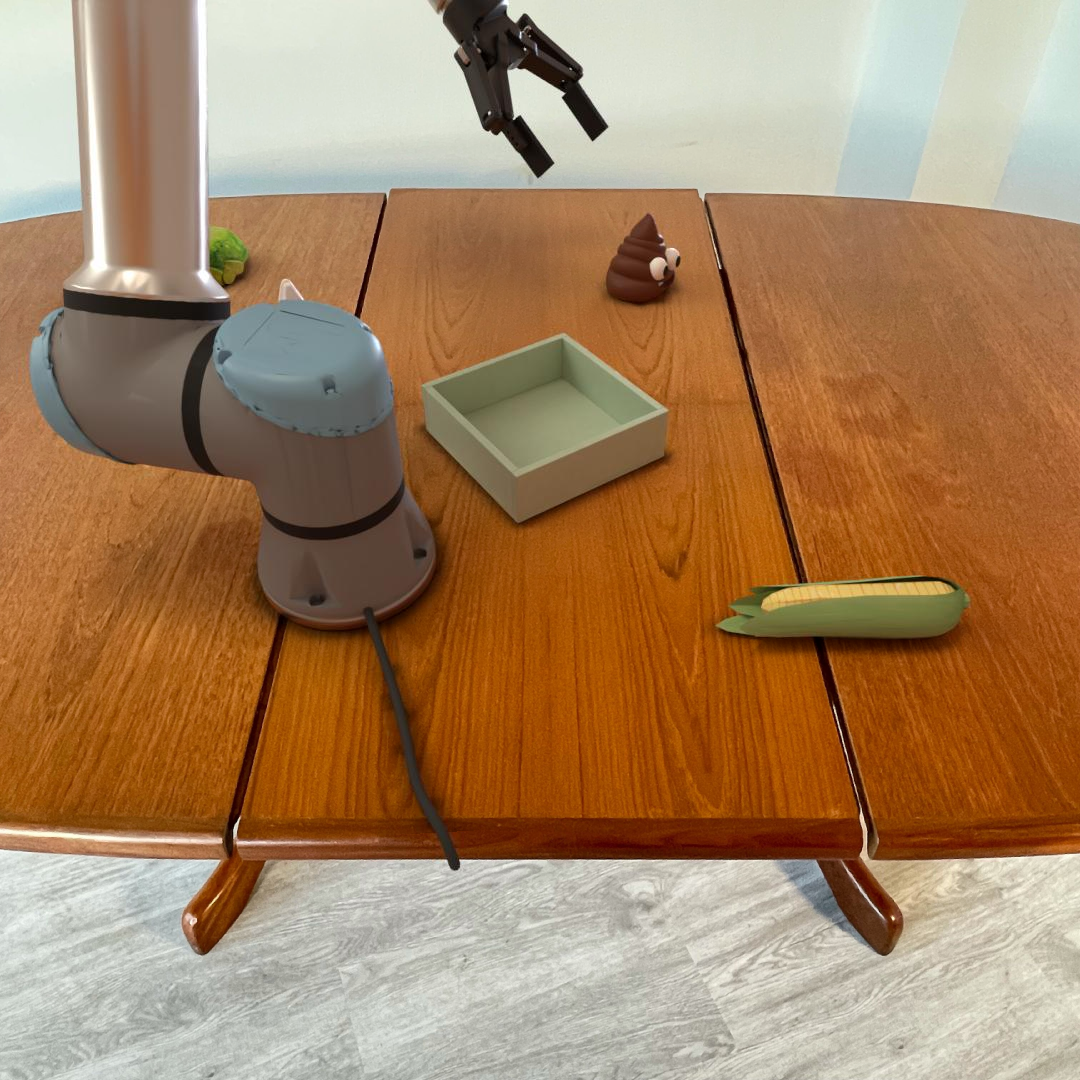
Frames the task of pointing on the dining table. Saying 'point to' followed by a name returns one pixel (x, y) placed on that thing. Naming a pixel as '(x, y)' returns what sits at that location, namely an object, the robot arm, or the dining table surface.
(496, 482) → the tub
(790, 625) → the edible corn
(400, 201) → the dining table surface
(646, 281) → the poop emoji
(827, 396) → the dining table surface
